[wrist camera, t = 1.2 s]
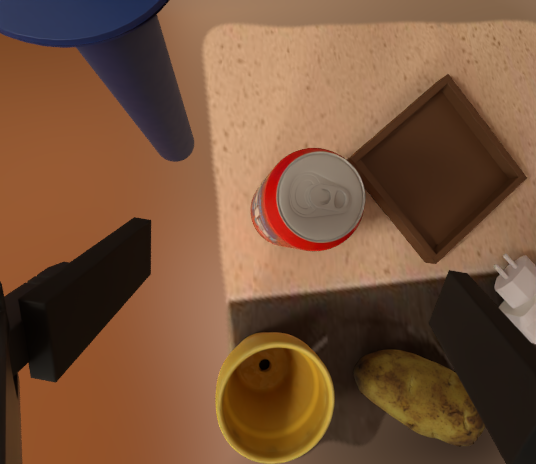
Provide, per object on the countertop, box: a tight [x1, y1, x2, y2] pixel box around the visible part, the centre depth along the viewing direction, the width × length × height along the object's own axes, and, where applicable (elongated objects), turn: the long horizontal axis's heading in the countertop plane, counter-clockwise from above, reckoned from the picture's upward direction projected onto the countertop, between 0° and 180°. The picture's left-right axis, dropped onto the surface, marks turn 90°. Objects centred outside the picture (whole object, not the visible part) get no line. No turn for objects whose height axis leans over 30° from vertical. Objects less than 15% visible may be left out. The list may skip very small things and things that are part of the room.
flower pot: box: [216, 332, 335, 464], centre depth 34 cm, size 10×10×10 cm
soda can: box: [251, 148, 365, 251], centre depth 31 cm, size 8×8×15 cm
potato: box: [353, 349, 486, 447], centre depth 37 cm, size 8×13×8 cm, turn 50°
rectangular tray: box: [347, 74, 527, 264], centre depth 40 cm, size 16×16×2 cm
